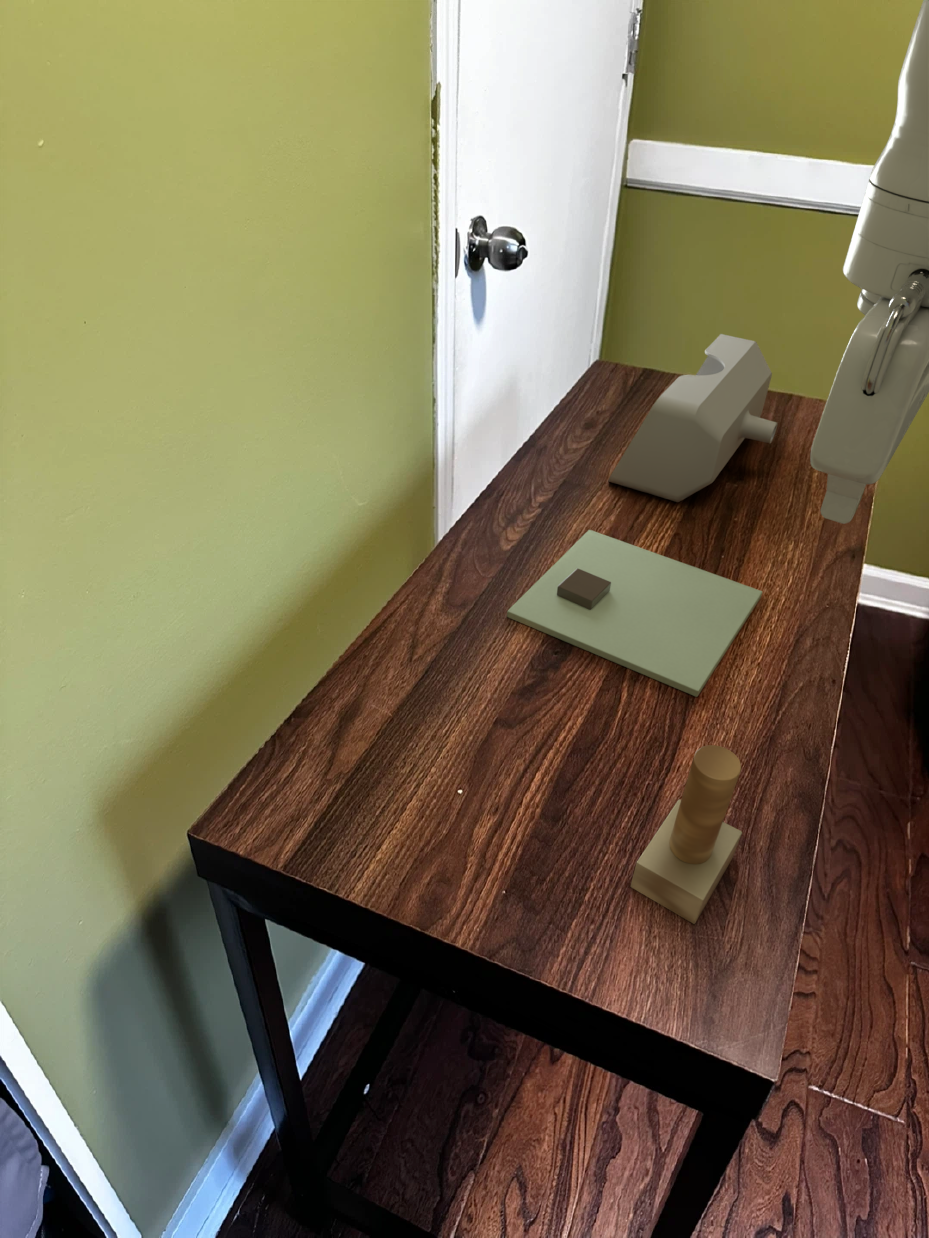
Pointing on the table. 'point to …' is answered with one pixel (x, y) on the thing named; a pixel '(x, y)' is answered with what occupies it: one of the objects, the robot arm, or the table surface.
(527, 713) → the table surface
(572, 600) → the brown flat square block
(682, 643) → the mat
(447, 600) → the table surface
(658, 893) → the stamp
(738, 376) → the grey stepped block
